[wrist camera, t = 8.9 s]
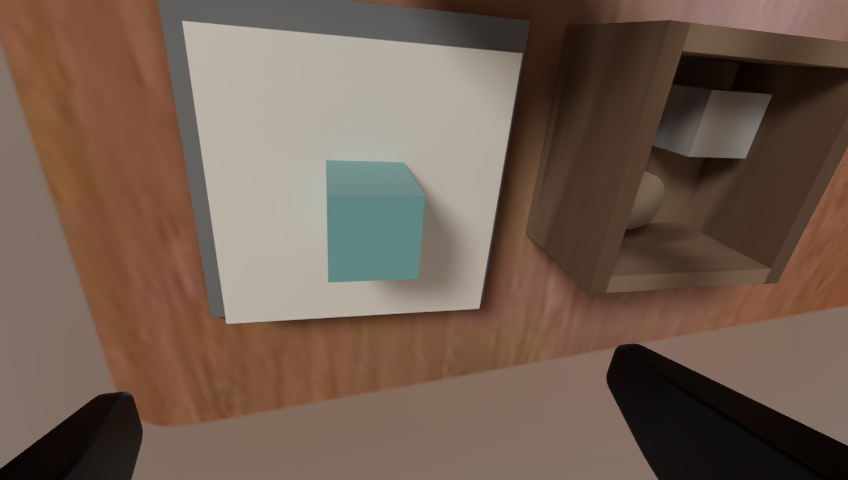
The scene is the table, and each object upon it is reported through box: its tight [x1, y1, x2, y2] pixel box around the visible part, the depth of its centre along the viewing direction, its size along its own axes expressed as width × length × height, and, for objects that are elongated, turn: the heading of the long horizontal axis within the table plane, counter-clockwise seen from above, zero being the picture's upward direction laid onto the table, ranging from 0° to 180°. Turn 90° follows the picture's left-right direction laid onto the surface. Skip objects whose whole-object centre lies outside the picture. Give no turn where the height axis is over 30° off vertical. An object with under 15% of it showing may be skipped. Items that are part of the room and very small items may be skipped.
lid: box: [182, 21, 523, 324], centre depth 16 cm, size 12×12×6 cm
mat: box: [158, 0, 530, 317], centre depth 19 cm, size 14×14×1 cm
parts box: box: [526, 20, 848, 294], centre depth 19 cm, size 10×10×6 cm
